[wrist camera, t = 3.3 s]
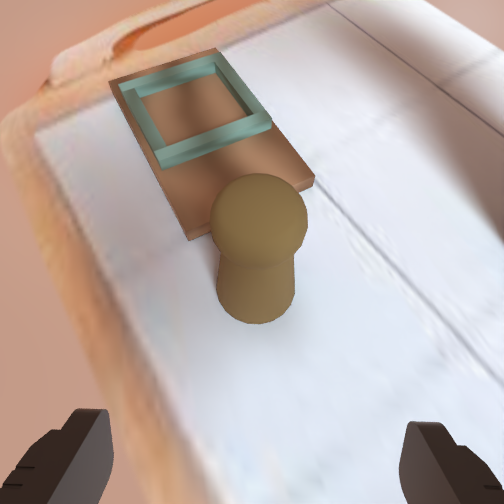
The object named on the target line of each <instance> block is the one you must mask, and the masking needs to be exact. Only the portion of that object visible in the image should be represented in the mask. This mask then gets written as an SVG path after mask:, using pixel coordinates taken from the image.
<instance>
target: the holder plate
mask: <svg viewBox="0 0 504 504" xmlns="http://www.w3.org/2000/svg"><path fill="white" fill-rule="evenodd" d="M108 82H109V85H110V87H111V90H112V92H113V95H114V96H115V98H116V100H117V102H118V104H119V106H120V108H121V110H122V112H123V114H124V116H125V118H126V120H127V122H128V124H129V126H130V128H131V130H132V132H133V134H134V135H135V137H136V139H137V141H138V143H139V145H140V147H141V149H142V151H143V153H144V155H145V157H146V159H147V161H148V163H149V165H150V167H151V169H152V171H153V172H154V174H155V176H156V178H157V180H158V182H159V184H160V186H161V188H162V190H163V192H164V194H165V196H166V198H167V200H168V202H169V204H170V206H171V208H172V209H173V211H174V213H175V215H176V217H177V219H178V221H179V223H180V225H181V227H182V229H183V231H184V233H185V235H186V237H187V239H188V241H191V240H193V239H195V238H197V237H200V236H202V235H204V234H206V233H209V232H211V229H210V224H209V219H210V212H211V207H212V203H213V202H214V200H215V198H216V196H217V194H218V193H219V192H220V191H221V190H222V189H223V188H224V187H225V186H226V185H227V184H228V183H229V182H230V181H232V180H234V179H236V178H238V177H240V176H243V175H248V174H253V173H262V174H270V175H273V176H276V177H280V178H281V179H283V180H284V181H286V182H288V183H289V184H291V185H292V186H293V187H294V189H295V190H296V191H297V192H298V193H299V192H301V191H304V190H306V189H308V188H310V187H312V186H313V182H314V178H315V175H314V173H313V172H312V171H311V170H310V168H309V167H308V166H307V164H306V163H305V162H304V161H303V159H302V158H301V157H300V155H299V154H298V153H297V152H296V150H295V149H294V148H293V146H292V145H291V144H290V143H289V141H288V140H287V139H286V137H285V136H284V135H283V134H282V132H281V131H280V130H279V128H278V127H277V126H276V125H275V123H274V122H273V121H272V118H271V116H270V115H269V114H268V112H267V111H266V110H265V109H264V107H263V106H262V105H261V104H260V102H259V101H258V100H257V98H256V97H255V96H254V95H253V93H252V92H251V91H250V89H249V88H248V87H247V86H246V84H245V83H244V82H243V81H242V79H241V78H240V77H239V75H238V74H237V73H236V72H235V70H234V69H233V68H232V66H231V65H230V64H229V63H228V61H227V60H226V59H225V58H224V56H223V55H222V54H221V52H218V50H217V49H216V48H213V49H210V50H207V51H203V52H200V53H197V54H194V55H191V56H188V57H184V58H181V59H178V60H175V61H172V62H169V63H165V64H162V65H159V66H156V67H153V68H149V69H146V70H143V71H140V72H137V73H134V74H130V75H127V76H124V77H121V78H118V79H115V80H111V81H108Z"/></svg>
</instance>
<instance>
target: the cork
mask: <svg viewBox="0 0 504 504" xmlns="http://www.w3.org/2000/svg"><path fill="white" fill-rule="evenodd" d="M209 224H210V229H211V233H212V237H213V241H214V243H215V244H216V246H217V247H218V249H219V250H220V251H221V255H220V263H219V272H218V280H217V294H218V298H219V301H220V303H221V305H222V306H223V308H224V309H225V311H226V312H227V313H229V314H230V315H231V316H232V317H234V318H235V319H237V320H239V321H242V322H245V323H248V324H263V323H267V322H271V321H273V320H275V319H276V318H278V317H280V316H281V315H283V314H284V313H285V311H286V310H287V309H288V308H289V306H290V305H291V302H292V300H293V297H294V294H295V279H294V254H295V253H296V251H297V250H298V249H299V248H300V247H301V245H302V242H303V240H304V237H305V234H306V231H307V228H308V218H307V209H306V206H305V204H304V201H303V199H302V197H301V196H300V194H299V193H298V192H297V191H296V190H295V189H294V187H293V186H292V185H291V184H289V183H288V182H286V181H284V180H283V179H281V178H280V177H276V176H273V175H270V174H262V173H253V174H248V175H243V176H240V177H238V178H236V179H234V180H232V181H230V182H229V183H228V184H227V185H226V186H225V187H224V188H223V189H222V190H221V191H220V192H219V193H218V194H217V196H216V198H215V200H214V202H213V203H212V207H211V212H210V219H209Z"/></svg>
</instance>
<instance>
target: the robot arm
mask: <svg viewBox="0 0 504 504" xmlns="http://www.w3.org/2000/svg"><path fill="white" fill-rule="evenodd" d="M113 458H114V452H113V444H112V435H111V427H110V419H109V413H108V411H107V410H106V409H80V408H79V409H76V410H75V411H74V412H73V413H72V414H71V416H70V417H69V418H68V420H67V422H66V423H65V424H64V426H63V427H62V429H61V430H50V431H49V432H48V433H47V434H45V435H44V436H43V437H42V438H40V439H39V440H38V441H37V442H35V443H34V444H33V445H32V446H31V447H30V448H29V450H28V451H27V452H26V453H25V455H24V456H23V457H22V459H21V460H20V461H19V463H18V464H17V465H16V468H15V470H13V471H12V472H11V473H10V475H9V476H8V477H7V479H6V480H5V481H4V483H3V486H2V488H0V504H98V503H99V500H100V498H101V496H102V493H103V491H104V489H105V487H106V485H107V482H108V480H109V477H110V474H111V470H112V465H113ZM399 477H400V483H401V487H402V491H403V493H404V496H405V498H406V501H407V503H408V504H504V490H503V489H502V485H501V484H500V482H499V481H498V479H497V478H496V477H495V475H494V474H493V472H492V471H491V469H490V468H489V467H488V465H487V464H486V463H485V462H484V461H483V460H481V459H480V458H479V457H478V456H477V455H476V454H475V453H473V452H472V451H471V450H470V449H469V448H468V447H467V446H461V445H457V444H456V443H455V441H454V440H453V438H452V437H451V435H450V434H449V432H448V431H447V429H446V428H445V426H444V425H443V424H441V423H439V422H415V421H410V422H409V423H408V425H407V428H406V433H405V438H404V443H403V448H402V453H401V458H400V463H399Z"/></svg>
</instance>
